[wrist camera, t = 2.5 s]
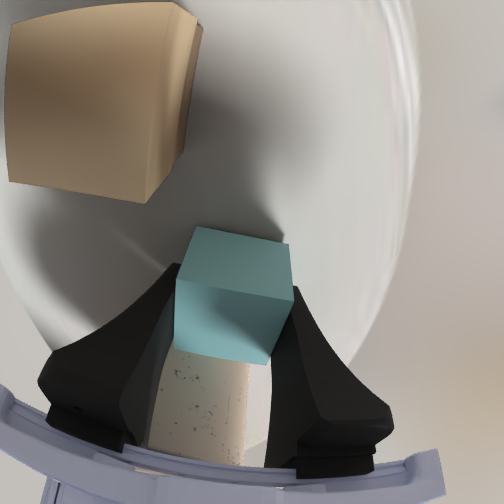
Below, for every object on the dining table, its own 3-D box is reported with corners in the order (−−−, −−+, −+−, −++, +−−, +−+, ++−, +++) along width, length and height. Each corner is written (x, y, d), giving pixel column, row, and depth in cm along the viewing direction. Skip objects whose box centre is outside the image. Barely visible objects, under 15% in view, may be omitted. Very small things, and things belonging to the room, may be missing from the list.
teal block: (266, 308, 15) (265, 365, 12) (189, 294, 15) (173, 349, 12) (288, 244, 13) (293, 301, 10) (196, 225, 13) (176, 279, 10)
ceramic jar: (102, 289, 16) (20, 477, 6) (261, 308, 16) (251, 543, 6) (140, 391, 22) (111, 512, 13) (246, 406, 22) (237, 537, 13)
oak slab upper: (171, 170, 9) (144, 204, 7) (51, 154, 9) (9, 181, 7) (197, 18, 6) (173, 2, 4) (60, 24, 6) (11, 24, 4)
